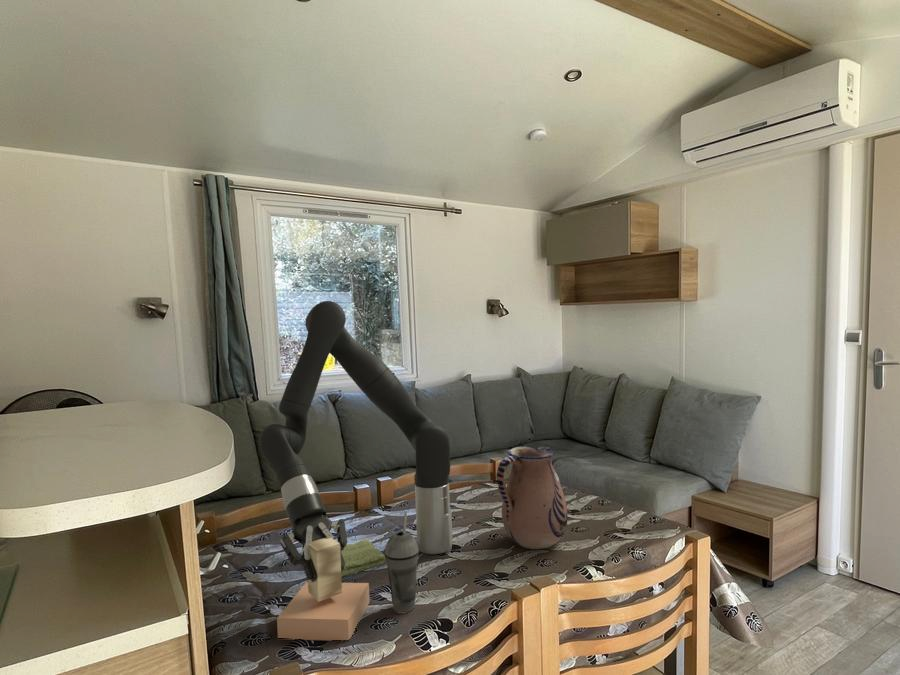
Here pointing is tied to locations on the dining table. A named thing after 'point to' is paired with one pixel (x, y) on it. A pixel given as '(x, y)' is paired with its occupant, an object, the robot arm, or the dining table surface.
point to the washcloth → (361, 557)
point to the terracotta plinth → (324, 614)
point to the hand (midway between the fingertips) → (328, 575)
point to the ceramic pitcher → (532, 498)
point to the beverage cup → (402, 569)
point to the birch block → (325, 569)
